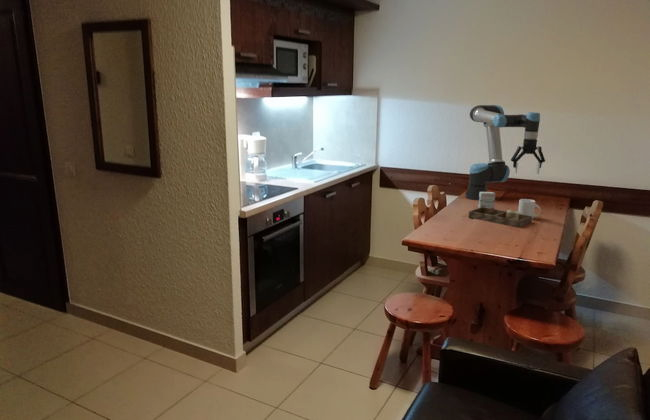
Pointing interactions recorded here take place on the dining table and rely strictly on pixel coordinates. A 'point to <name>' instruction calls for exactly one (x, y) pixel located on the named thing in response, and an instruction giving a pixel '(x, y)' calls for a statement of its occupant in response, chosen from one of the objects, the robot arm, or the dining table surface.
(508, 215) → the beech block
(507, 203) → the dining table surface
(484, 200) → the ink box
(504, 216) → the storage box
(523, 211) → the mug
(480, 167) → the robot arm
